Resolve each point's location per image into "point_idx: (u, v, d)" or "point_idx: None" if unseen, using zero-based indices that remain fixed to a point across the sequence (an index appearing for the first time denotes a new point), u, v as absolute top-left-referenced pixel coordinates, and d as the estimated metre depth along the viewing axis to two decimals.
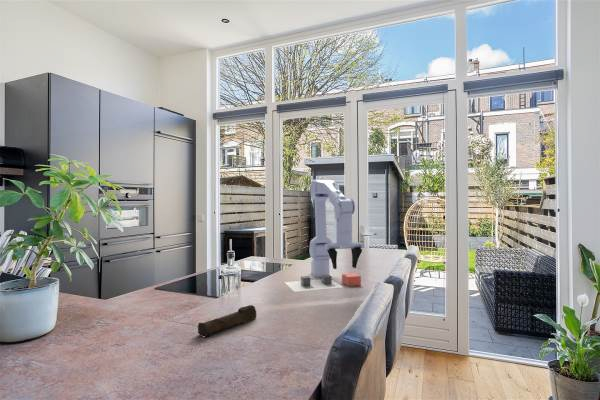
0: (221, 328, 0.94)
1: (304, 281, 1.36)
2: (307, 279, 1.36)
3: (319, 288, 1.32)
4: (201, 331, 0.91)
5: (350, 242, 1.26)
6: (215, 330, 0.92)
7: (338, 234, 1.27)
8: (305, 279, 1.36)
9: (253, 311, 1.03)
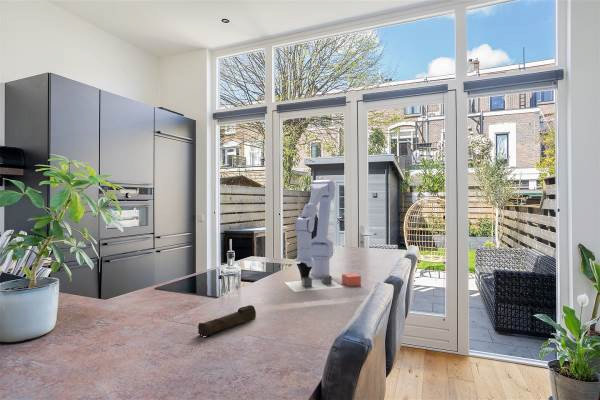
0: (221, 328, 0.94)
1: (305, 282, 1.34)
2: (308, 280, 1.34)
3: (319, 288, 1.32)
4: (201, 331, 0.90)
5: (300, 258, 1.36)
6: (215, 330, 0.92)
7: None
8: (306, 280, 1.34)
9: (253, 311, 1.03)
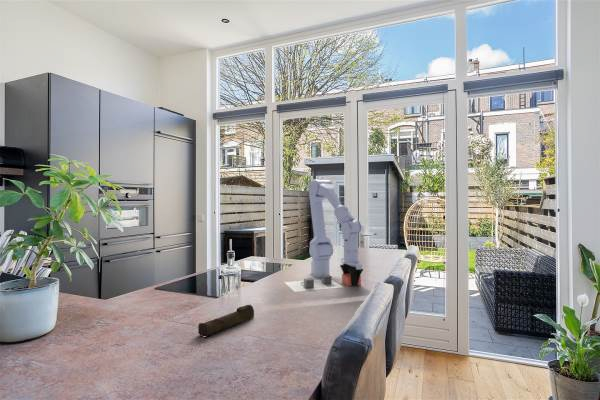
0: (221, 328, 0.94)
1: (307, 283, 1.32)
2: (310, 281, 1.32)
3: (319, 288, 1.32)
4: (201, 331, 0.90)
5: (347, 260, 1.37)
6: (215, 330, 0.92)
7: None
8: (308, 281, 1.32)
9: (251, 310, 1.04)
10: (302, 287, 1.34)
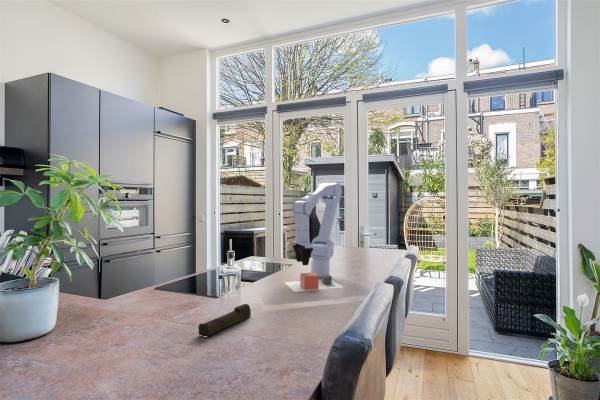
0: (221, 328, 0.94)
1: None
2: None
3: (319, 288, 1.32)
4: (202, 331, 0.90)
5: (297, 240, 1.39)
6: (216, 330, 0.92)
7: None
8: None
9: (248, 309, 1.04)
10: None
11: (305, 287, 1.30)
